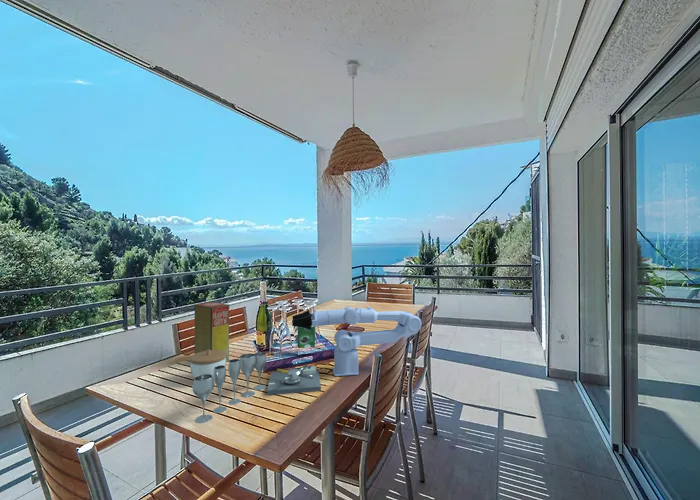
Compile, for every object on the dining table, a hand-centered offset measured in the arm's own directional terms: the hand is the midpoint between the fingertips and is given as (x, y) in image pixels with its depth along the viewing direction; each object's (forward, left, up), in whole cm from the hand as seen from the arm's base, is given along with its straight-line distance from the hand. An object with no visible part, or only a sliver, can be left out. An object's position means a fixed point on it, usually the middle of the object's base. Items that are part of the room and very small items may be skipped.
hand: (292, 320), depth 121 cm
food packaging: (+35, -22, -21) cm, 47 cm away
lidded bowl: (+31, -2, -21) cm, 38 cm away
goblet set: (+18, +18, -21) cm, 33 cm away
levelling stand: (-1, +7, -21) cm, 22 cm away
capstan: (-1, +10, -19) cm, 22 cm away
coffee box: (-6, -24, -21) cm, 33 cm away
